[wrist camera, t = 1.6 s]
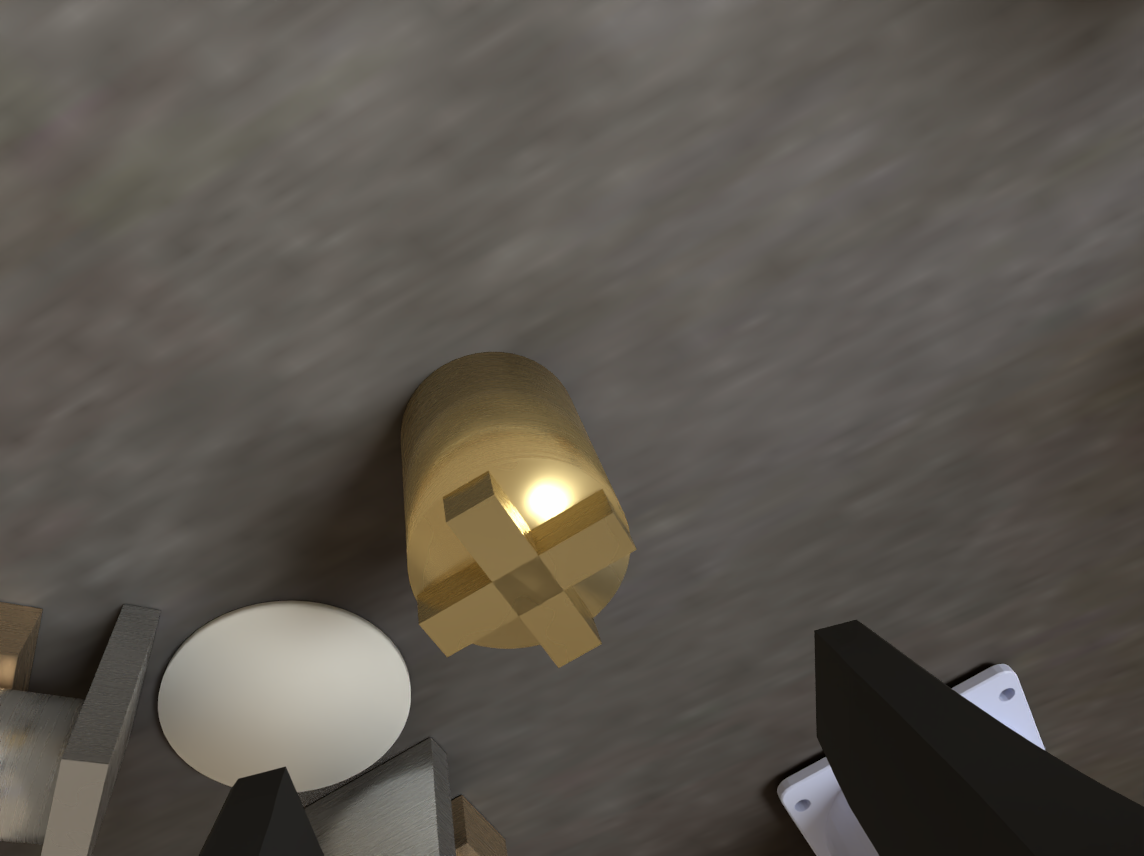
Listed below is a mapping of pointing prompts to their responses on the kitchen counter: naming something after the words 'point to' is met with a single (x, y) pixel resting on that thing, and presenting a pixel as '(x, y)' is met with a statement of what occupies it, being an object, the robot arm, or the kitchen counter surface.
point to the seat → (285, 694)
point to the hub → (507, 510)
